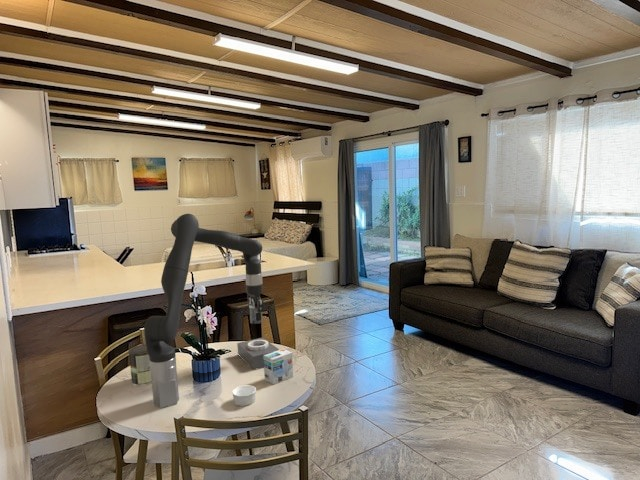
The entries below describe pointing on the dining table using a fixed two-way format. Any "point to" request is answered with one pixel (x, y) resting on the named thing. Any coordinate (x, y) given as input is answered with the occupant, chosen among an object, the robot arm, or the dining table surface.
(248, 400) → the ramekin
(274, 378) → the light bulb box
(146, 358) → the coffee can
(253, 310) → the lens
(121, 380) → the dining table surface
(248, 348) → the camera body
